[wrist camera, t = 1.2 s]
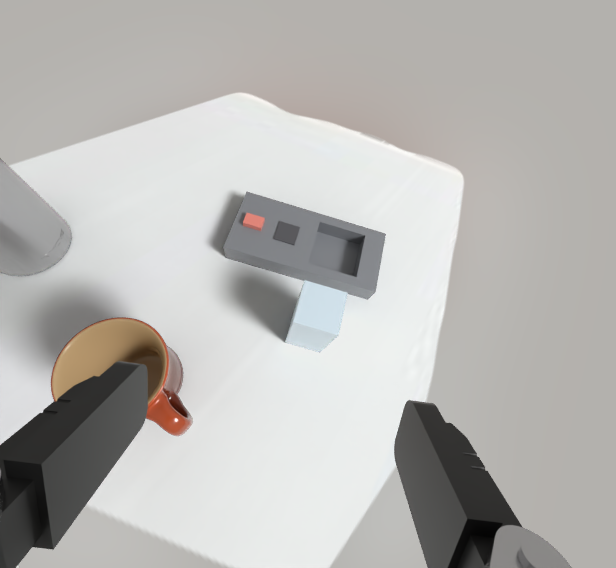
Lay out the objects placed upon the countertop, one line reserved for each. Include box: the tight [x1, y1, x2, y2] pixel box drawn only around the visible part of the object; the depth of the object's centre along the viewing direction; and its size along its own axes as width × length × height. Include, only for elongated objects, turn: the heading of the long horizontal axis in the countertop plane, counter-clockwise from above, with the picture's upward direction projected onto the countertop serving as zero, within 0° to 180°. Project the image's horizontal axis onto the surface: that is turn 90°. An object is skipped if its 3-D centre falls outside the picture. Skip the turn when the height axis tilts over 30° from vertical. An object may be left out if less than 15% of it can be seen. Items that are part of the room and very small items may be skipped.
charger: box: [285, 280, 348, 352], centre depth 35 cm, size 4×5×10 cm
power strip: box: [223, 192, 386, 299], centre depth 42 cm, size 20×9×4 cm, turn 76°
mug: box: [51, 318, 193, 436], centre depth 30 cm, size 12×9×10 cm
